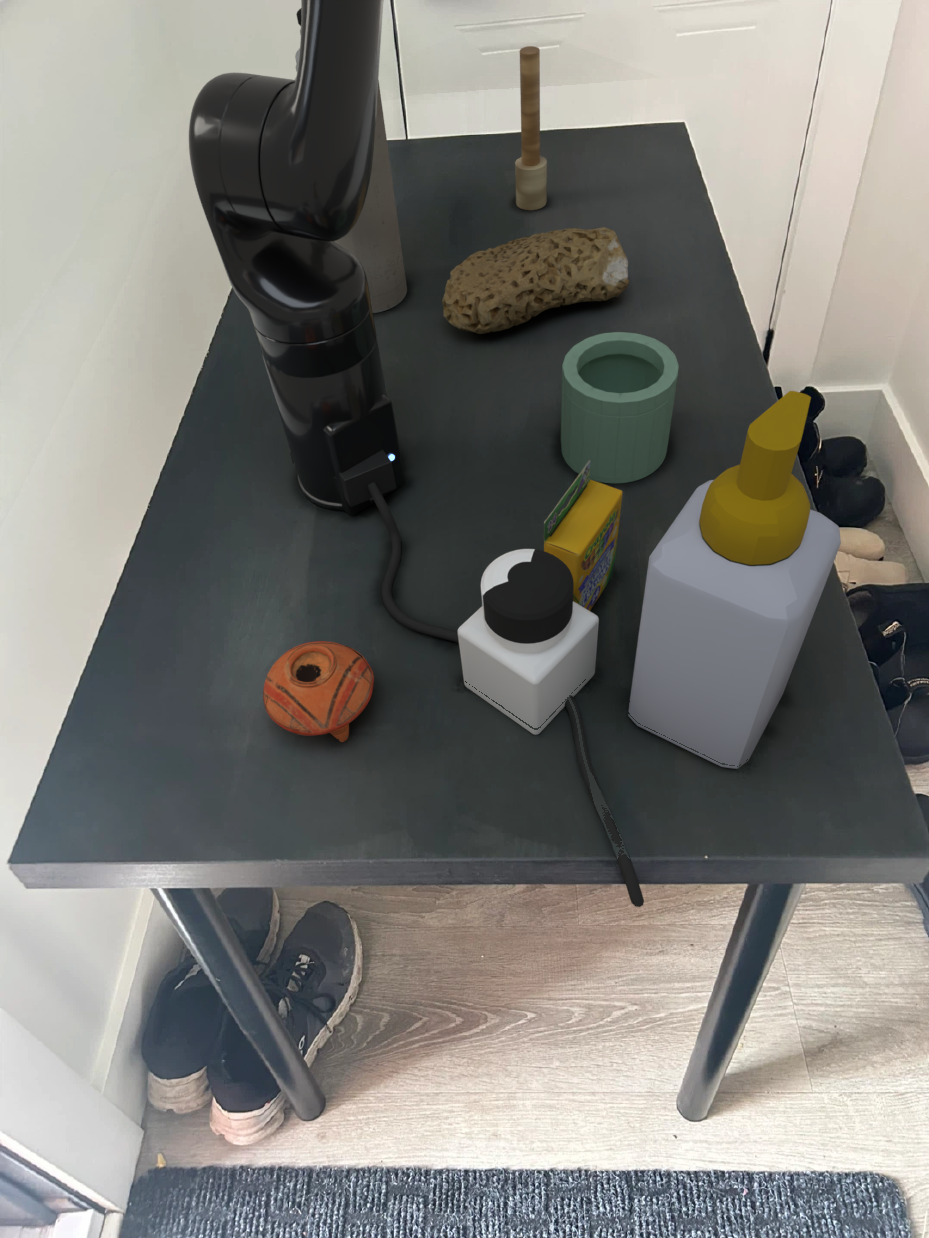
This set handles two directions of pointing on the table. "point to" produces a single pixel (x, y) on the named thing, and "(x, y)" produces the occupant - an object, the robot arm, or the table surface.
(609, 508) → the crayon box
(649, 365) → the jar
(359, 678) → the pot
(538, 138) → the wooden peg on base
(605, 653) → the table surface
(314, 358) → the robot arm
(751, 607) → the soap bottle
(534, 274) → the sponge
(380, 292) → the thermos bottle
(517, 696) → the medicine bottle
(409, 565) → the table surface
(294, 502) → the table surface
